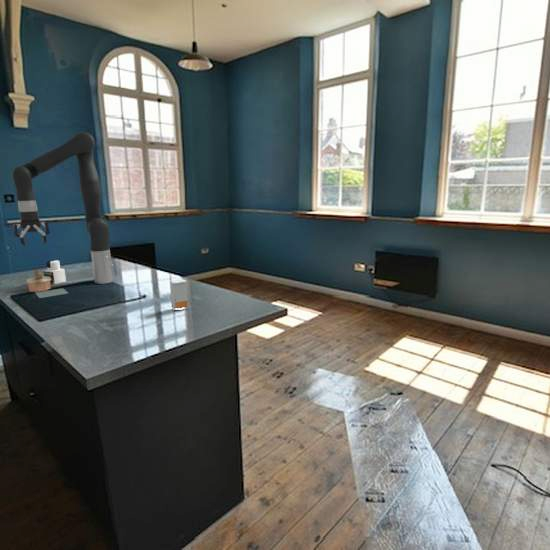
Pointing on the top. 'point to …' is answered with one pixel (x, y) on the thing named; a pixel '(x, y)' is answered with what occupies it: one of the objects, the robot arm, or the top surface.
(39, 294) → the mat
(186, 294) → the skincare box
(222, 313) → the top surface
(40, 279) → the lid
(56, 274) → the medicine bottle
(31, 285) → the bowl
